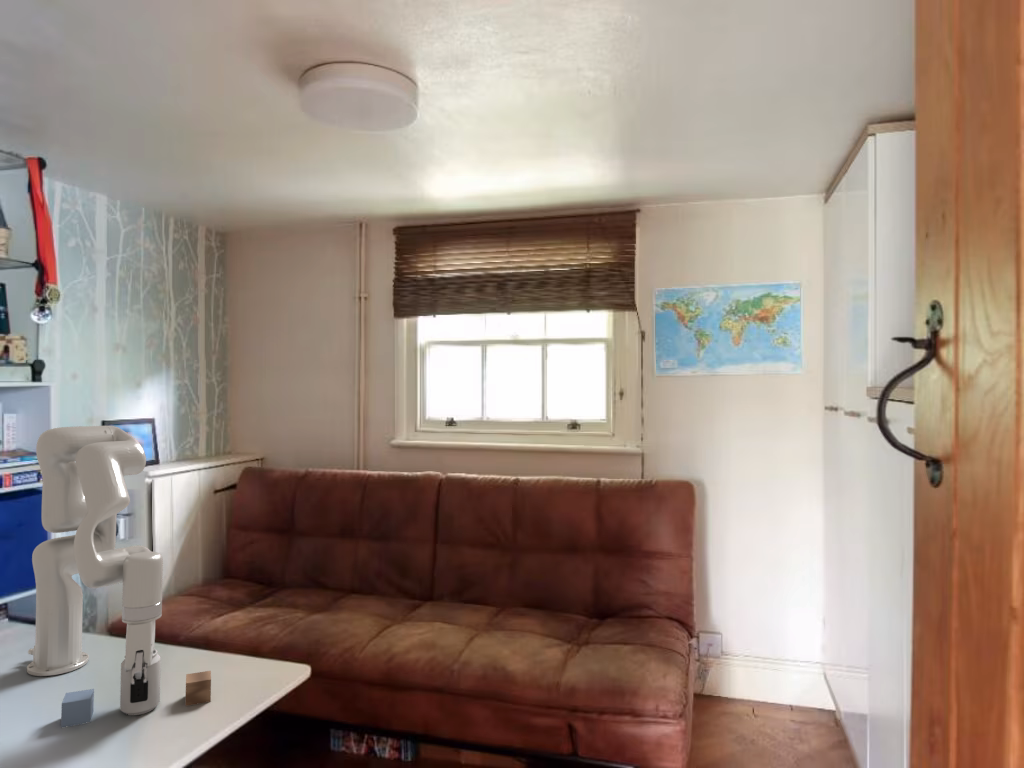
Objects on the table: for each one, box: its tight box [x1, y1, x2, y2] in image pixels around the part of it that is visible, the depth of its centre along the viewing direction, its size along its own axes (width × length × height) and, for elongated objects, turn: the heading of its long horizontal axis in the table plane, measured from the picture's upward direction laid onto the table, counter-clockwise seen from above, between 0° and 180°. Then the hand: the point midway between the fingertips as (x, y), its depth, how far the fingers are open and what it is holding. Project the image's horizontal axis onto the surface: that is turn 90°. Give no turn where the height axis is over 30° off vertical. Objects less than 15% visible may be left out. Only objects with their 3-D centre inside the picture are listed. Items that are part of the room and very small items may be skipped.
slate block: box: [60, 688, 95, 728], centre depth 137 cm, size 5×5×5 cm
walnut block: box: [184, 670, 212, 707], centre depth 147 cm, size 5×5×5 cm
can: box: [119, 648, 162, 716], centre depth 142 cm, size 8×8×12 cm
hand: (140, 692), depth 142 cm, fingers closed on can, 7 cm apart
